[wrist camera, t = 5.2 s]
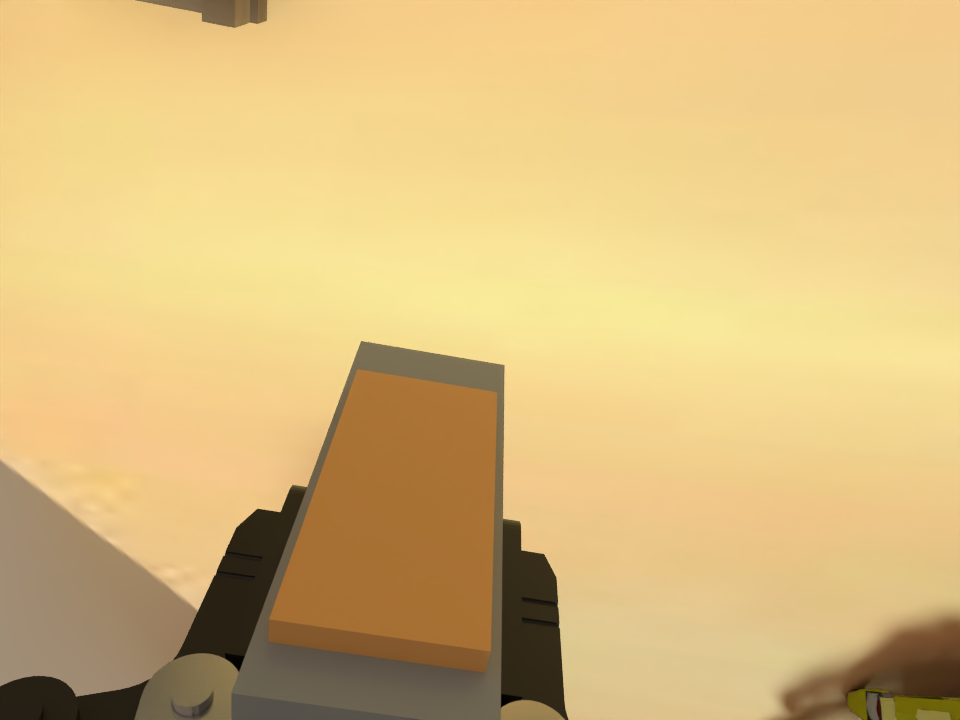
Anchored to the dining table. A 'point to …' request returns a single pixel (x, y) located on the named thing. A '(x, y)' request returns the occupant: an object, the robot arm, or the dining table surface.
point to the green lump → (902, 706)
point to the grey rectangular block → (392, 555)
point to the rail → (222, 10)
